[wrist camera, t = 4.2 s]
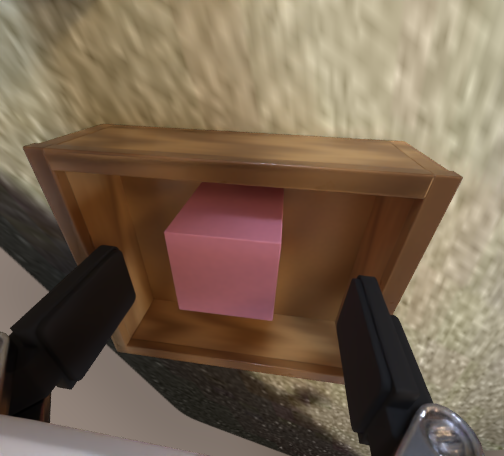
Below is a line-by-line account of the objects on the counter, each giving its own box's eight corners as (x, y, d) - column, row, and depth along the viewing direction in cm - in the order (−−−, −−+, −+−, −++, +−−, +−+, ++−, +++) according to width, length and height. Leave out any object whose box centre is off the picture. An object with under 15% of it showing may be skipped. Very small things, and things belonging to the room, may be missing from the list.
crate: (150, 297, 21) (117, 351, 17) (100, 122, 13) (20, 146, 9) (342, 321, 20) (355, 386, 16) (406, 140, 12) (464, 176, 8)
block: (207, 247, 16) (178, 309, 12) (201, 181, 14) (163, 231, 10) (277, 254, 16) (272, 321, 12) (284, 187, 13) (281, 243, 9)
